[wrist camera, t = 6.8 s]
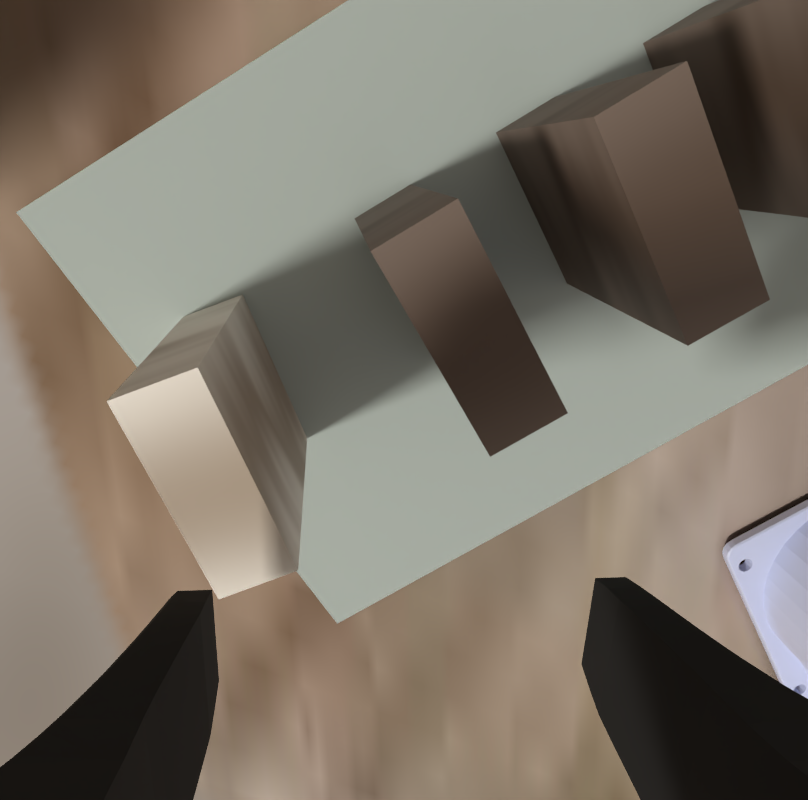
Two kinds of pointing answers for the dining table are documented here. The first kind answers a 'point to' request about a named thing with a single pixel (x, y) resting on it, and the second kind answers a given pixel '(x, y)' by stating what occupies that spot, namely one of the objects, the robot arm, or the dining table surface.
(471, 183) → the mat
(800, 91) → the tile
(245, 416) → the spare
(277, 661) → the dining table surface
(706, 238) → the tile
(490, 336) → the tile
